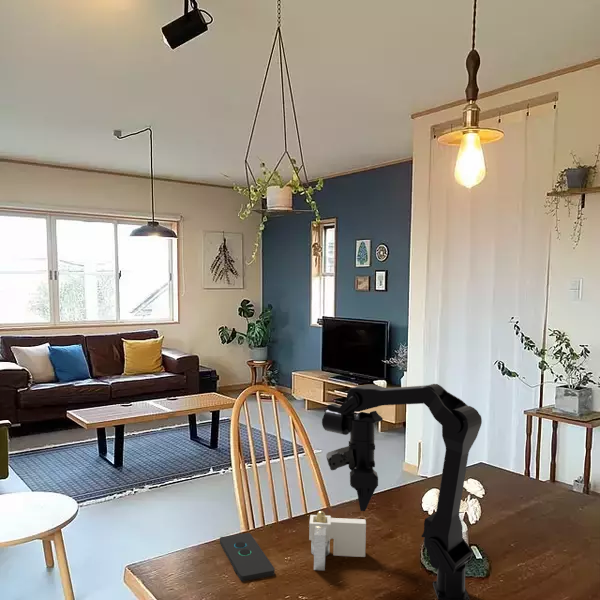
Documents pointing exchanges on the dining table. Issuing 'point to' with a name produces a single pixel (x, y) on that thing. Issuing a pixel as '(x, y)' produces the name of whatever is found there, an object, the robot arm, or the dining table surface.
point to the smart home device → (246, 557)
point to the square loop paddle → (342, 534)
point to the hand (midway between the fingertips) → (361, 503)
